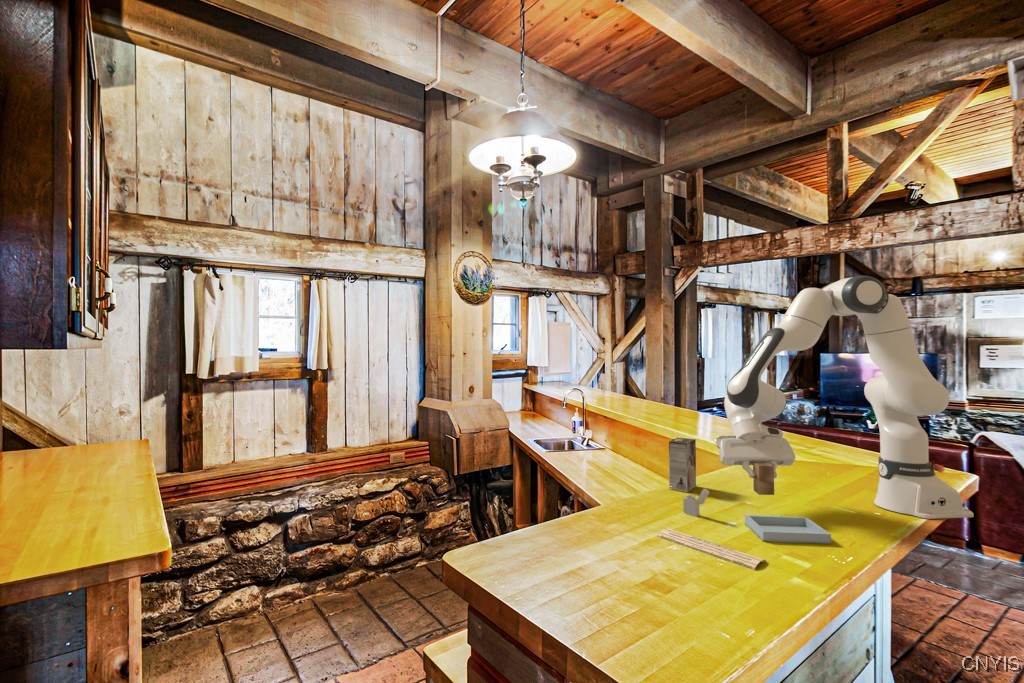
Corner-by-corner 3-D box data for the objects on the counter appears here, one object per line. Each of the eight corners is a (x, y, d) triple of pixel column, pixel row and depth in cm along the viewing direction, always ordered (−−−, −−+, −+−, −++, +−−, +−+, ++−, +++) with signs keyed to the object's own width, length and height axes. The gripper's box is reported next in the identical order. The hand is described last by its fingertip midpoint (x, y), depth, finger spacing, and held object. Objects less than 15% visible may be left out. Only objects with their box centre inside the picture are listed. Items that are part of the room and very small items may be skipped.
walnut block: (768, 490, 137) (767, 462, 137) (774, 494, 133) (773, 466, 133) (753, 490, 138) (753, 462, 138) (759, 494, 134) (758, 466, 134)
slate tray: (806, 526, 127) (806, 517, 127) (831, 544, 115) (830, 534, 115) (744, 523, 128) (744, 514, 128) (763, 541, 117) (763, 531, 117)
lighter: (682, 513, 137) (682, 485, 137) (686, 511, 138) (686, 483, 138) (706, 519, 131) (706, 490, 131) (709, 518, 132) (709, 489, 132)
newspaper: (657, 539, 120) (657, 532, 120) (672, 532, 124) (672, 525, 124) (754, 573, 102) (754, 565, 102) (768, 563, 106) (768, 555, 106)
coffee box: (677, 483, 167) (677, 436, 167) (696, 486, 163) (696, 439, 163) (668, 489, 159) (668, 441, 159) (688, 492, 155) (688, 443, 156)
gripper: (716, 430, 144) (728, 470, 134) (787, 430, 142) (805, 471, 132) (711, 441, 149) (723, 482, 139) (781, 442, 146) (797, 483, 137)
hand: (763, 477), depth 135 cm, fingers closed on walnut block, 4 cm apart
